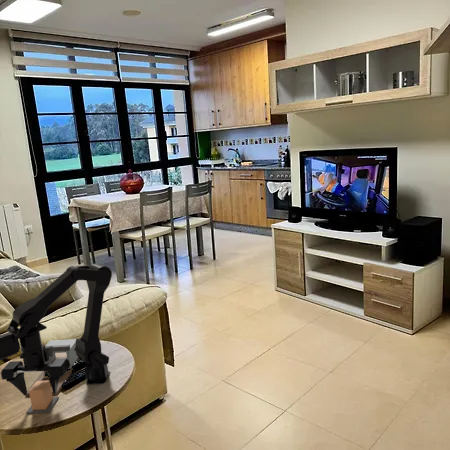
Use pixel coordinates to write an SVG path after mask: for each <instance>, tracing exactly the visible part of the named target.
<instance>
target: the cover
mask: <svg viewBox="0 0 450 450" xmlns="http://www.w3.org/2000/svg"><path fill="white" fill-rule="evenodd" d="M76 339H77V338H72V339H70V338H69V339H57V340H55V339H51V340H49V341H48V342H47V343H46V344H45V346H53V356H52V357H49V360H48V361H47V362H45V363H46V364H51V363H52V362H53V361H54V359H55V358H56V357H57V356H56V354H58V353H59V354H60V353H66V357H67V359H68V360H69V362H70V367H69V369H71V368H72V366H73V365H74V363H75V362H76V360H77V359H78V356H77V355H76V351H74V349H75V347H76Z"/></svg>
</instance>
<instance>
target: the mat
mask: <svg viewBox="0 0 450 450" xmlns="http://www.w3.org/2000/svg"><path fill="white" fill-rule="evenodd" d="M52 397H53V399H52V401H51V402H50V404H49V405H48V407H47V408H46V409H42V410H33V409H32V404H31V405H30V406H29V408H28V409H27V411H26V412H25V414H26V415H31V414H45V413H46V414H47V413H48V414H49V413H50V412H51V411H52V410H53V408H54V406H55V405H56V403H57V402H58V400H59V396H52Z"/></svg>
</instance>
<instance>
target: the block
mask: <svg viewBox="0 0 450 450" xmlns="http://www.w3.org/2000/svg"><path fill="white" fill-rule="evenodd" d="M51 389H52V387H51V383H50V380H46V381H36V383H35V384H34V385H33V386H32V388H31V389H30V390H29V394H30V396H29V398H30V404H31V405H32V409H33V410H42V409H46V408H47V407H48V405H49V404H50V402H51V401H52V399H53V397H54V396H53V395H52V392H51Z"/></svg>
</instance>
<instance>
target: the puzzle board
mask: <svg viewBox="0 0 450 450" xmlns="http://www.w3.org/2000/svg"><path fill="white" fill-rule="evenodd" d="M64 358H67V356H58V357H57V356H56V358H55V359H64ZM55 359H54V361H55ZM78 360H79V357H78V359H77V360H76V361H78ZM54 361H53V362H54ZM53 362H52V363H53ZM52 363H51V364H52ZM72 370H73V368H71V369H70V370H68V371H66V372H65V374H64V375H63V376H61V377H60V378H59V382H58V387H57V392H56V393H55V394H54V393H53V390H52V388H51V392H52V396H53V395H59V393H60V391H62V389H63V387H62V384H63V383H64V381H65V380H66V379H67V378H68V377H69V378H70V376H71V375H72V374H73V372H72ZM73 371H74V370H73ZM46 372H48V371H41V372H40V374H39V375H38V377H37V378H36V379H35V380H34V381H33V383H32V384H31V385H30V387H29V388H27V394H26V395H24V396H25V397H30V394H29V390H30V389H31V388H32V386H33V385H34V384H35V383H36V381H48V380H49V381H50V379H49V378H50V377H48V376H45V373H46ZM70 374H71V375H70ZM69 378H68V379H69ZM68 379H67V380H68Z"/></svg>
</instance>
